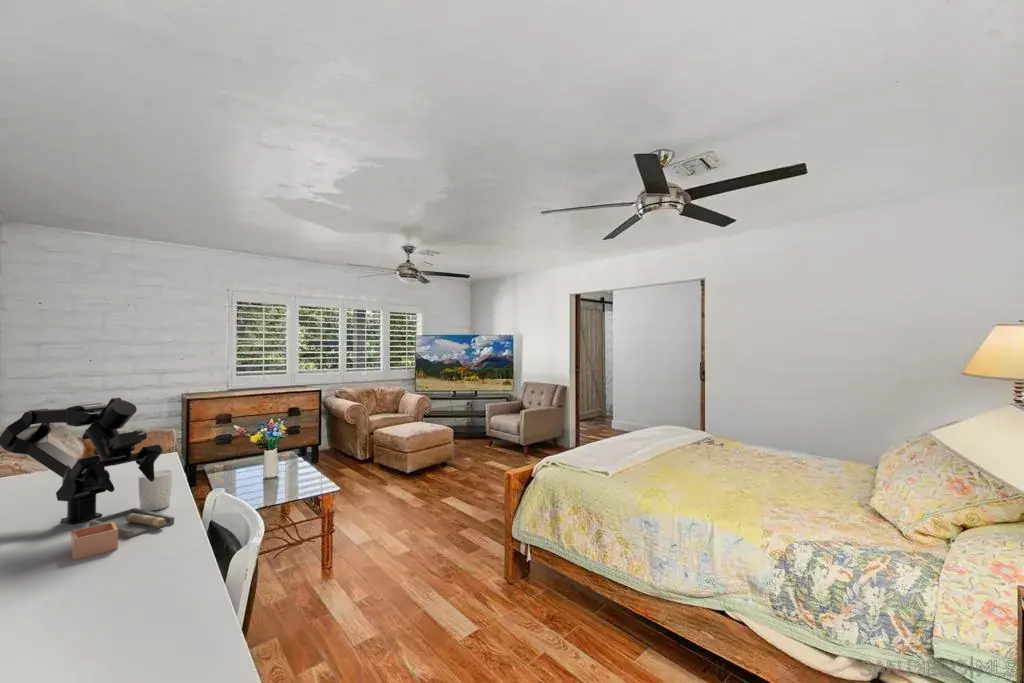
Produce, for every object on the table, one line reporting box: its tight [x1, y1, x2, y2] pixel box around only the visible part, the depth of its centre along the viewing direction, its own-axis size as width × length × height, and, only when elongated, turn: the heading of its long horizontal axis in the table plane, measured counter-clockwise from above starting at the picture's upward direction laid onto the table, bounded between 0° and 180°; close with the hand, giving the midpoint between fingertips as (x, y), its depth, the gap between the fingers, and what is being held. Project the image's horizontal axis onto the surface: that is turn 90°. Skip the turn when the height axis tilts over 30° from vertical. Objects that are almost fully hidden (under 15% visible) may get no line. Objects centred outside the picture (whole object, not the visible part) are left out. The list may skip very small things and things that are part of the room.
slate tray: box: [88, 507, 175, 539], centre depth 114 cm, size 18×10×2 cm, turn 67°
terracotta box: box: [70, 521, 119, 561], centre depth 100 cm, size 7×7×5 cm
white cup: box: [137, 469, 173, 512], centre depth 129 cm, size 8×8×10 cm
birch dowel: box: [126, 513, 165, 527], centre depth 113 cm, size 6×2×12 cm
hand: (133, 485), depth 115 cm, fingers open, 9 cm apart
